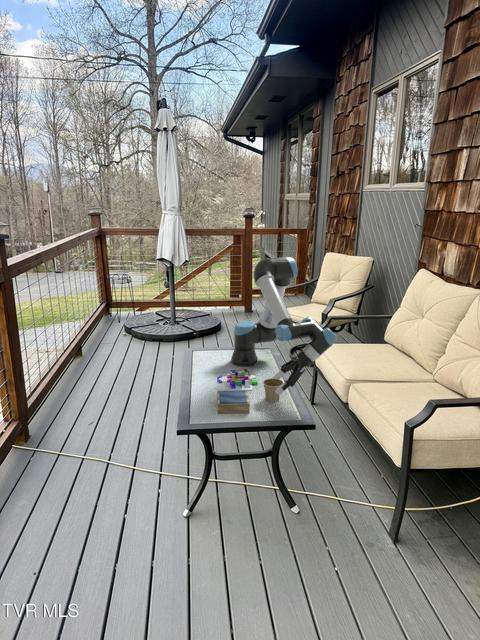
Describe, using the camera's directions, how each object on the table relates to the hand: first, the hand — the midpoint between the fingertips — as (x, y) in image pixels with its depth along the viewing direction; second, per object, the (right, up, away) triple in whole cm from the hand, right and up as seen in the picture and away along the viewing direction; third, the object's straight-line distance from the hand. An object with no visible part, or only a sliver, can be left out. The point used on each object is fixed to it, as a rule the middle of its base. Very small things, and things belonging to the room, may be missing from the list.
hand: (274, 387), depth 197 cm
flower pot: (-1, -6, +2) cm, 7 cm away
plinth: (-19, -8, -5) cm, 22 cm away
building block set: (-18, -1, +23) cm, 29 cm away
